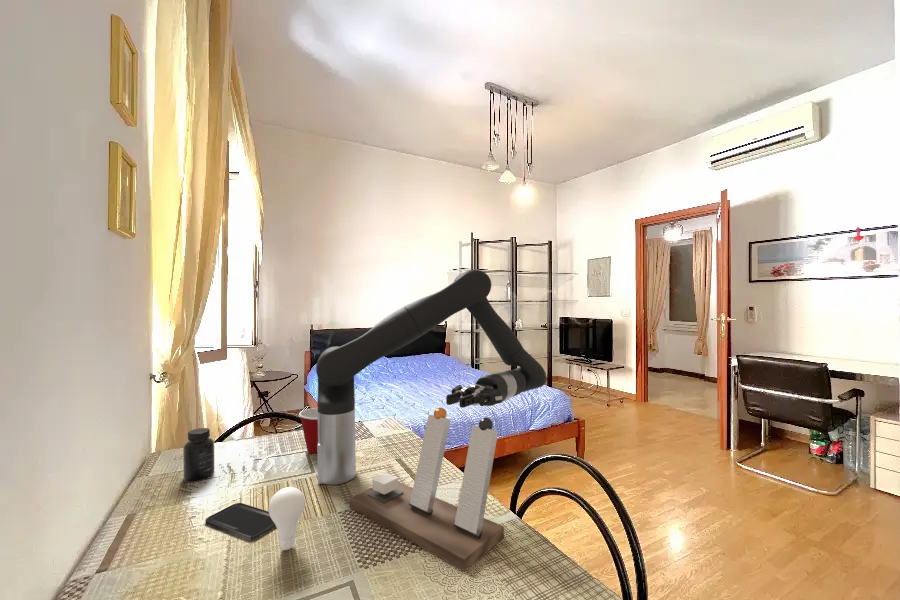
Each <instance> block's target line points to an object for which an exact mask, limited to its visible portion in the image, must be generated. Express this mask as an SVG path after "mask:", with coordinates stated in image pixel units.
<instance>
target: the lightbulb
mask: <svg viewBox="0 0 900 600" xmlns="http://www.w3.org/2000/svg"><path fill="white" fill-rule="evenodd" d="M305 505H306V499H305V495H304V494H303V492H302V491H301V490H300V489H299V488H297V487H293V486H286V487H283V488H281V489H278V491H277V492H276V493H275V492H274V495H273V496H272V497H271V499H270V502H269V504H268V512H269V515H270V517H271V519H272V520H273V522H274V523H275V525H276V529H277V536H278V538H279V548H280V549H281V550H284V551H289V550H291V549H292V548H293V547H294V546H295V545H296V537H297V535H296V534H297V533H298V532H297V530H298V525H299V521H300V519H301V517H302V514H303V512H304V511H305V507H306V506H305Z"/></svg>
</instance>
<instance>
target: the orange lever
mask: <svg viewBox="0 0 900 600" xmlns="http://www.w3.org/2000/svg"><path fill="white" fill-rule="evenodd" d="M450 425H451V419H450V418H447V411H446V409H445V408H443V407H437V408H435V410H434V411H433V415H432V414H428V417H427V421H426V425H425V430H424V434H423V440H422V443H421V449H420V454H419V459H418V461H417V462H418V463H417V467H416V473H415V477H414V482H413V487H412V488H413V490H412V495H411V499H410V502H409V506H411V507H413V508H415V509H417V510H420V511H422V512H424V513H426V514H428V515H432V513H433V506H434V501H435V497H436V495H437V490H438V485H439V480H440V474H441V470H442V465H443V459H444V455H445V450H446V445H447V439H448V435H449V429H450Z"/></svg>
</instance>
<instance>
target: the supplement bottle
mask: <svg viewBox="0 0 900 600" xmlns="http://www.w3.org/2000/svg"><path fill="white" fill-rule="evenodd" d="M182 448H183V449H182V453H183V454H182V455H183V456H182V457H183V458H182V459H183V461H182V462H183V463H182V464H183V468H182V469H183V480H185V481H186V482H190V483H193V481H195V482H199V480H200V481H203V479H204V480H206V479H209V478H210V477H212V476H213V475H214V473H215V441H214V440H213V438H211V433H210V428H208V427H200V428H199V427H198V428H194V429H191V430H189V431H187V442H186V443H185V444H184V445H183V447H182ZM208 477H209V478H208Z"/></svg>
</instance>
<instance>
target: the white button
mask: <svg viewBox="0 0 900 600" xmlns="http://www.w3.org/2000/svg"><path fill="white" fill-rule="evenodd" d="M371 482H372V484H371V486H372V487H373V490H375V491H378V492H380V493H382V494H384V495H385V494H388V493H390V492H391V491H393V490H395V489H397V488H398V482H399V477H397V476H395V475H392V474H390V473H387V472H385V473H384V474H383V473H382V474H380V475H378V476H377V477H375V478H374V477H373V478H372V480H371ZM372 487H371V488H372Z"/></svg>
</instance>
